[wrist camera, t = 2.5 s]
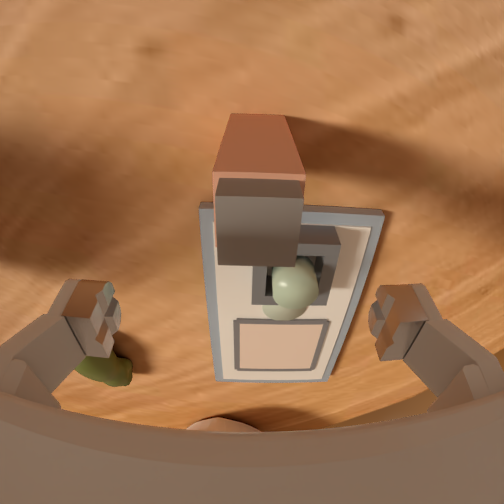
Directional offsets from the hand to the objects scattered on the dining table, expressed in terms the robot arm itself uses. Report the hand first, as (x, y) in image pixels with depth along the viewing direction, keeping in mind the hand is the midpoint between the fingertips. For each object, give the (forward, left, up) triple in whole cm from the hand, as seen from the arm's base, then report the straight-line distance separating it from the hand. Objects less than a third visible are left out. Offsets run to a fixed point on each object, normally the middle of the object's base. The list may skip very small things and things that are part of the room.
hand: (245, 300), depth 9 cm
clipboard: (-3, +17, -15) cm, 22 cm away
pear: (+17, +25, -15) cm, 34 cm away
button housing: (-3, +9, -13) cm, 16 cm away
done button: (-3, +9, -12) cm, 15 cm away
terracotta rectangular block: (0, 0, -15) cm, 15 cm away
